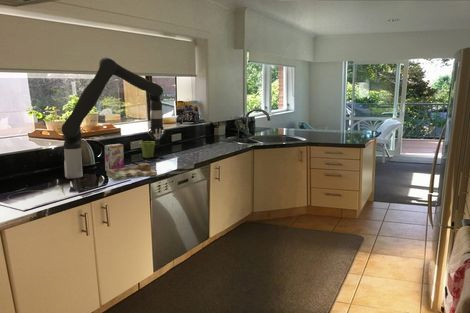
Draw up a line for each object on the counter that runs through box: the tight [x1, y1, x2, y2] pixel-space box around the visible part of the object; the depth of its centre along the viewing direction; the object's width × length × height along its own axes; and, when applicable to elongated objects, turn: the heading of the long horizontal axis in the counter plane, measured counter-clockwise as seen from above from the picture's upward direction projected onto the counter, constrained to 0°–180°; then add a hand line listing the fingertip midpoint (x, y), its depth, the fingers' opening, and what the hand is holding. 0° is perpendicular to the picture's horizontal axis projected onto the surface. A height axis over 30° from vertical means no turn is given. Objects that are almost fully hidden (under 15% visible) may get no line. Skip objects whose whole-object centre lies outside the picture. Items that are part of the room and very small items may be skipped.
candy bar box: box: [104, 143, 125, 172], centre depth 255 cm, size 11×5×16 cm, turn 141°
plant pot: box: [139, 140, 156, 159], centre depth 299 cm, size 12×12×11 cm
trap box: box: [106, 165, 158, 181], centre depth 243 cm, size 26×14×4 cm, turn 125°
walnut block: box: [137, 162, 152, 171], centre depth 249 cm, size 6×6×4 cm
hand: (157, 145), depth 252 cm, fingers closed
